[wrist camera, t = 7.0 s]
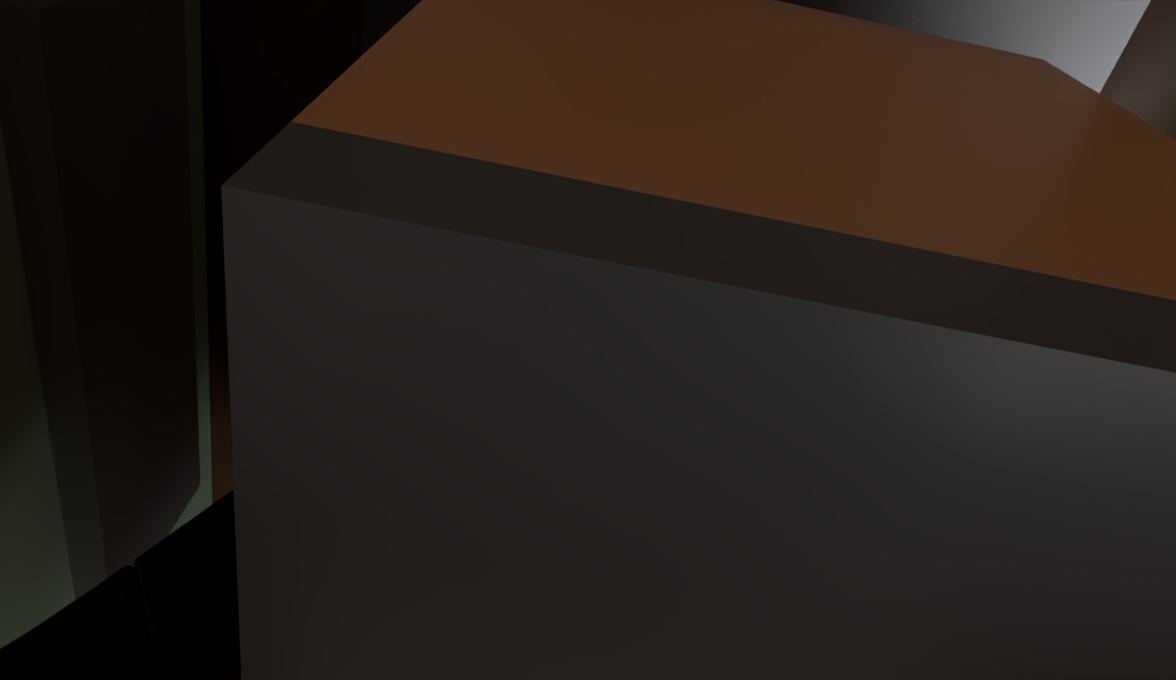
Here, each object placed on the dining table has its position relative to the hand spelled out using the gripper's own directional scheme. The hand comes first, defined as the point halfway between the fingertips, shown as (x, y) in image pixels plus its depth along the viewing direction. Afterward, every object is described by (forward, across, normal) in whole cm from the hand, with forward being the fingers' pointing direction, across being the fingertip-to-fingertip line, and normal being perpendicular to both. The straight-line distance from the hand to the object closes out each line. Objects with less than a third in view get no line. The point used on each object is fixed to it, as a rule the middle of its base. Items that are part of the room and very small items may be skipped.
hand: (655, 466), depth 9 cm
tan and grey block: (+1, 0, 0) cm, 1 cm away
